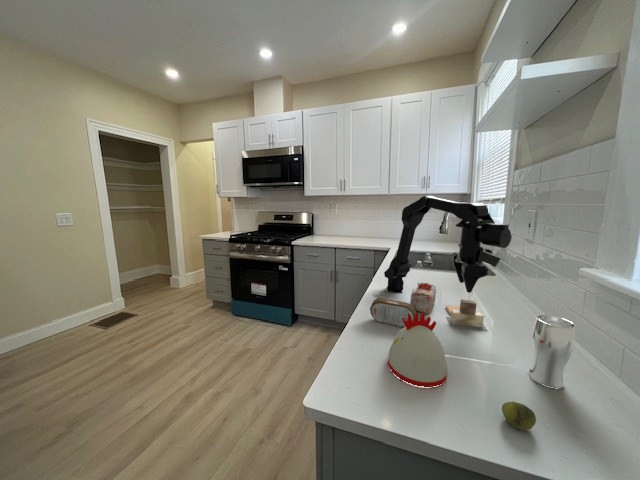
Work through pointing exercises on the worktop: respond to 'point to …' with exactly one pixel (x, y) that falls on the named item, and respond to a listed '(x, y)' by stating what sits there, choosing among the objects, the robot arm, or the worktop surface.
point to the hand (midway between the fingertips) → (465, 287)
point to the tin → (391, 311)
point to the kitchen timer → (418, 353)
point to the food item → (423, 297)
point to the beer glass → (551, 349)
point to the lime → (519, 415)
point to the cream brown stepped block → (467, 314)
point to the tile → (452, 308)
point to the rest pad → (465, 326)
